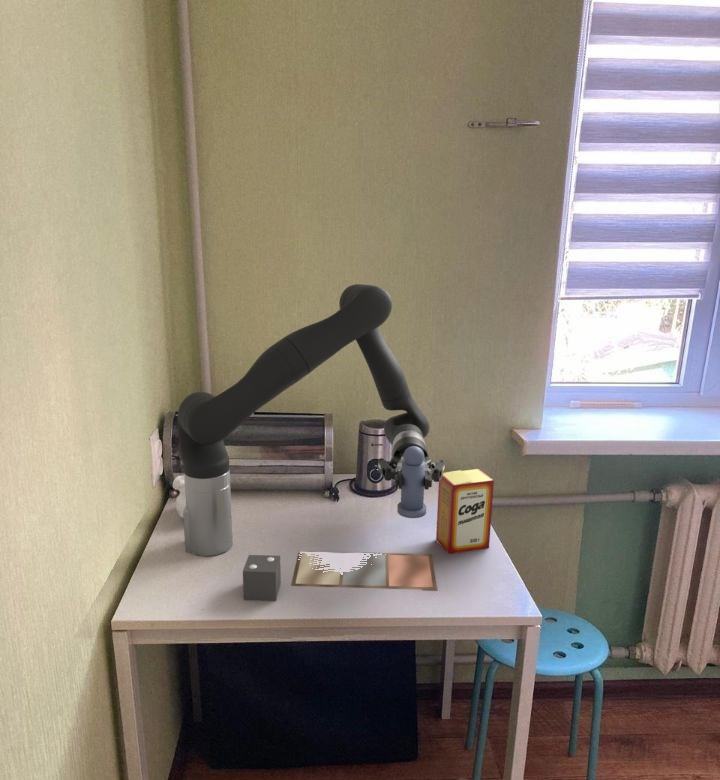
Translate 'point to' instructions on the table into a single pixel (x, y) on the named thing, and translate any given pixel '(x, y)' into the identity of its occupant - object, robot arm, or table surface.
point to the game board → (371, 573)
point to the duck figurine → (181, 500)
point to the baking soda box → (464, 510)
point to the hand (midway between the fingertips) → (413, 484)
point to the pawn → (412, 484)
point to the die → (261, 577)
